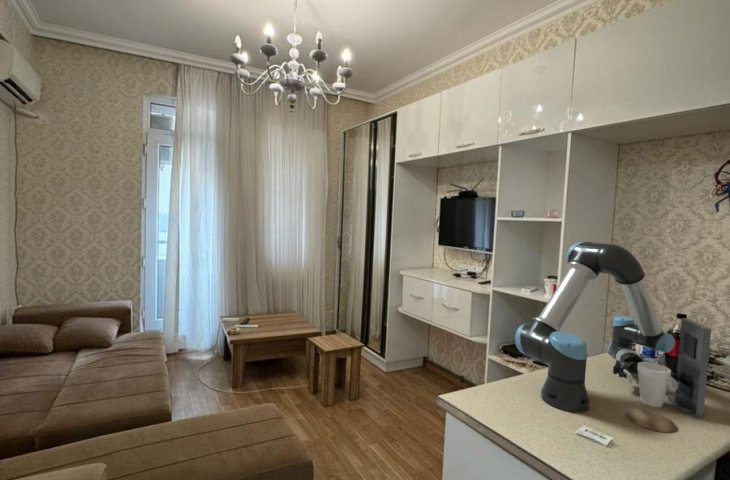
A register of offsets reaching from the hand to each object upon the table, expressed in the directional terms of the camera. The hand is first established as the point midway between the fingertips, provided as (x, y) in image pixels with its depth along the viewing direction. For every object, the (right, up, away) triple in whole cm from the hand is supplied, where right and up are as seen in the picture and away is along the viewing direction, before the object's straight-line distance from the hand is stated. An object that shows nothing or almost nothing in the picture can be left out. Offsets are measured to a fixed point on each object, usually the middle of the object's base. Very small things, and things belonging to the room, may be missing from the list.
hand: (653, 382), depth 133 cm
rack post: (+9, -8, -2) cm, 12 cm away
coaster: (-10, -8, -12) cm, 17 cm away
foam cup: (0, -8, +1) cm, 8 cm away
